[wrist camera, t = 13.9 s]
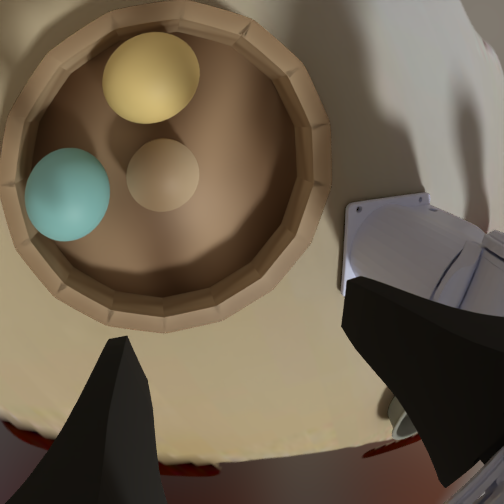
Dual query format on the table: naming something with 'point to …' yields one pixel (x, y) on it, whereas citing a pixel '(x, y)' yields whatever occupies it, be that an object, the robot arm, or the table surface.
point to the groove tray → (223, 175)
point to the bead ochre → (150, 77)
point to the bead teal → (67, 194)
